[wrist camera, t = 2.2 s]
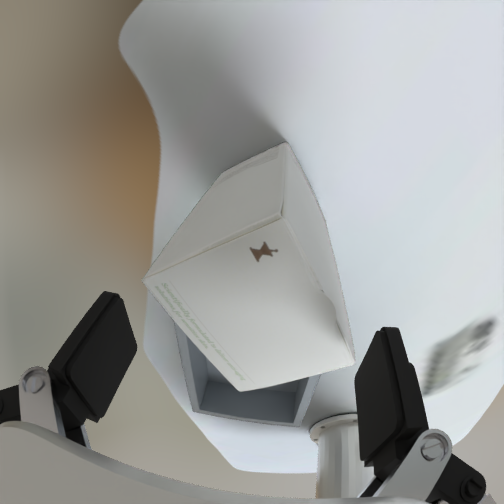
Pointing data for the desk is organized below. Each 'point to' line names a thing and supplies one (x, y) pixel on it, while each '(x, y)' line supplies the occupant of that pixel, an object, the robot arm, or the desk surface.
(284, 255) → the skincare box
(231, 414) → the tote
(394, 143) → the desk surface
